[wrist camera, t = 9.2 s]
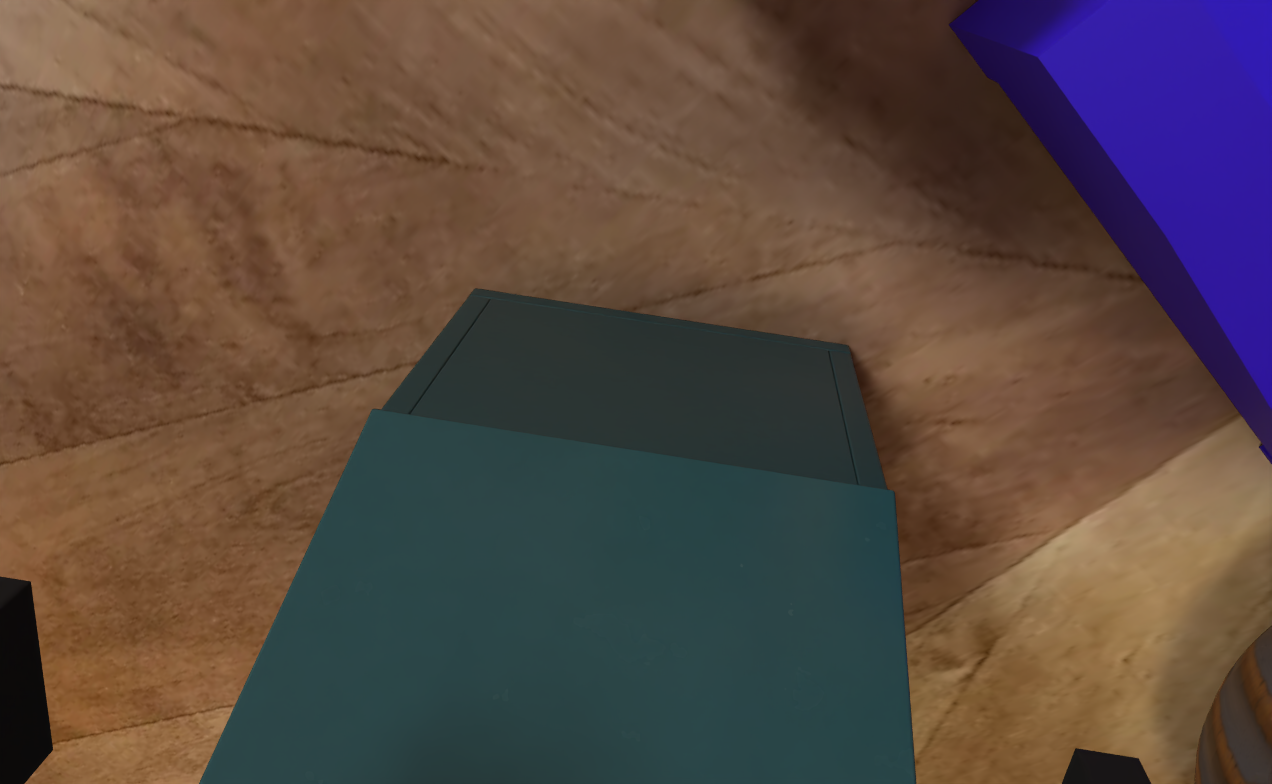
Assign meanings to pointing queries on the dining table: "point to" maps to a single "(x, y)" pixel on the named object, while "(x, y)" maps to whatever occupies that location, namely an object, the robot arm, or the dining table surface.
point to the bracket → (1160, 152)
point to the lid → (579, 623)
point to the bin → (647, 386)
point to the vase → (1240, 723)
